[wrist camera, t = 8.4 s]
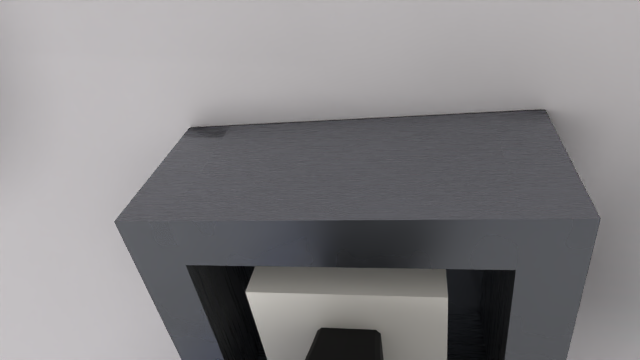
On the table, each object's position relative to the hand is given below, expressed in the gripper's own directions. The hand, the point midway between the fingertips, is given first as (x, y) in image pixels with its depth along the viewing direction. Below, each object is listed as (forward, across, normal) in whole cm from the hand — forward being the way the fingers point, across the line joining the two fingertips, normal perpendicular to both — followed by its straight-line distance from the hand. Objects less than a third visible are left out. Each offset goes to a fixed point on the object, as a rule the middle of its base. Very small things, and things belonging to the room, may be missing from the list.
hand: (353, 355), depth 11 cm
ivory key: (+3, 0, 0) cm, 3 cm away
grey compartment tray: (+4, 0, +6) cm, 7 cm away
